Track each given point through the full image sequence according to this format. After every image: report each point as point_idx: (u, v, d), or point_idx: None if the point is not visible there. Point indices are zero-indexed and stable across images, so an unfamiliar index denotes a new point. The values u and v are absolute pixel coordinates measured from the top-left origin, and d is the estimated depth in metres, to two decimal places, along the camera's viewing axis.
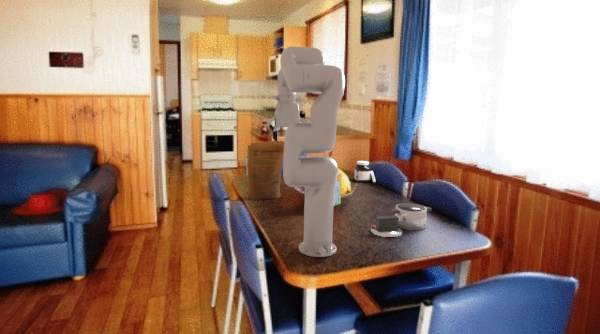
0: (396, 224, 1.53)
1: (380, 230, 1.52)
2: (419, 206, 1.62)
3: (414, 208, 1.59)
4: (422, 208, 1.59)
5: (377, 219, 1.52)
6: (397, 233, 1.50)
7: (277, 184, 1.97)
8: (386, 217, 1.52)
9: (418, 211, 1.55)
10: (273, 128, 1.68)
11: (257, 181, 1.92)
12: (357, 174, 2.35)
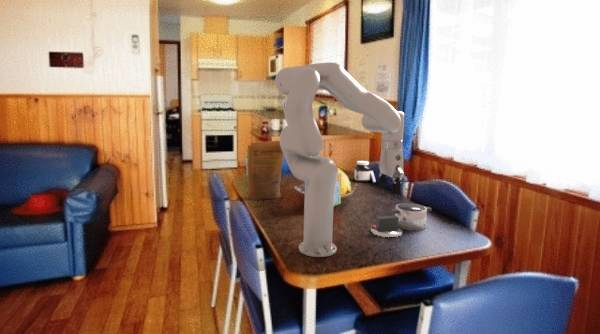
0: (396, 224, 1.53)
1: (380, 230, 1.52)
2: (419, 206, 1.62)
3: (414, 208, 1.59)
4: (422, 208, 1.59)
5: (377, 219, 1.52)
6: (397, 233, 1.50)
7: (277, 184, 1.97)
8: (386, 217, 1.52)
9: (418, 211, 1.55)
10: None
11: (257, 181, 1.92)
12: (357, 174, 2.35)
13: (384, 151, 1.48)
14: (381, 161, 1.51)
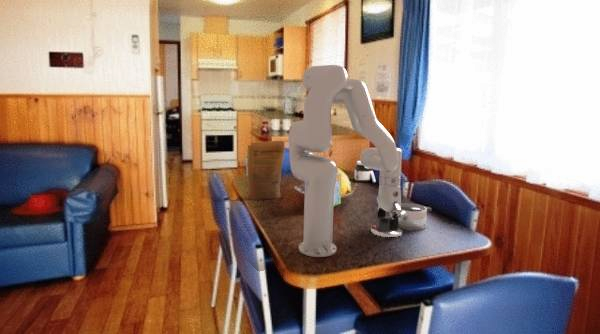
0: None
1: (380, 230, 1.52)
2: (419, 206, 1.62)
3: (414, 208, 1.59)
4: (422, 208, 1.59)
5: (377, 219, 1.52)
6: (397, 233, 1.50)
7: (277, 184, 1.97)
8: (386, 217, 1.52)
9: (418, 211, 1.55)
10: None
11: (257, 181, 1.92)
12: (357, 174, 2.35)
13: (382, 187, 1.51)
14: (379, 196, 1.53)
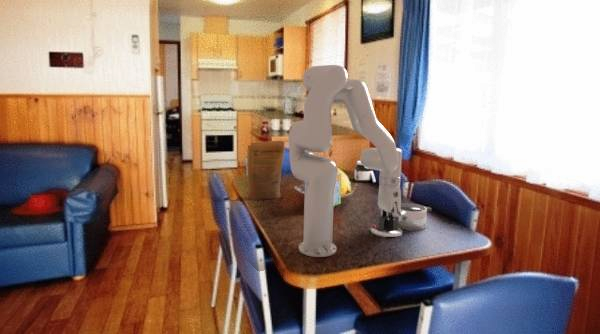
0: (396, 223, 1.53)
1: (380, 229, 1.52)
2: (419, 206, 1.62)
3: (414, 208, 1.59)
4: (422, 208, 1.59)
5: (377, 218, 1.52)
6: (397, 232, 1.50)
7: (277, 184, 1.97)
8: (386, 216, 1.52)
9: (418, 211, 1.55)
10: (393, 218, 1.50)
11: (257, 181, 1.92)
12: (357, 174, 2.35)
13: (382, 187, 1.51)
14: (379, 196, 1.53)
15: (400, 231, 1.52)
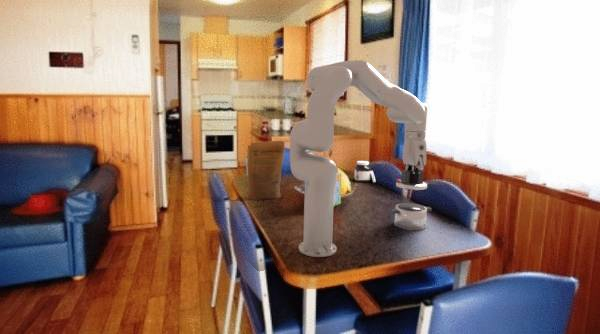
0: (421, 177, 1.58)
1: (406, 183, 1.56)
2: (419, 206, 1.62)
3: (414, 208, 1.59)
4: (422, 208, 1.59)
5: (403, 172, 1.57)
6: (422, 185, 1.55)
7: (277, 184, 1.97)
8: (411, 170, 1.57)
9: (418, 211, 1.55)
10: (418, 171, 1.55)
11: (257, 181, 1.92)
12: (357, 174, 2.35)
13: (407, 142, 1.55)
14: (404, 151, 1.58)
15: (425, 184, 1.56)
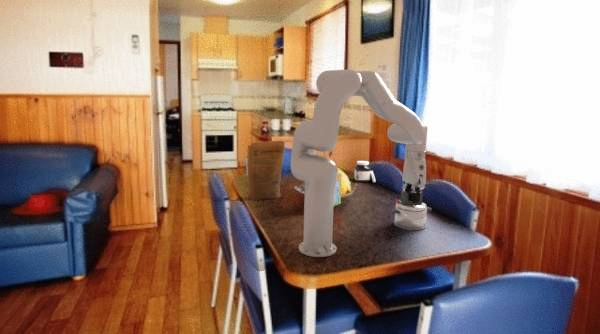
0: (420, 198, 1.60)
1: (405, 204, 1.58)
2: None
3: None
4: None
5: (402, 193, 1.59)
6: (422, 207, 1.57)
7: (277, 184, 1.97)
8: (411, 192, 1.59)
9: (418, 211, 1.55)
10: None
11: (257, 181, 1.92)
12: (357, 174, 2.35)
13: (407, 161, 1.57)
14: (404, 170, 1.60)
15: (424, 206, 1.58)
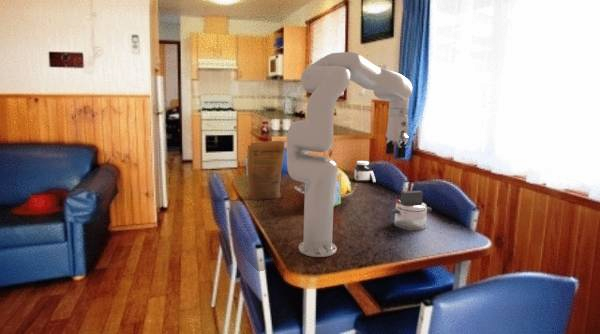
0: (420, 198, 1.60)
1: (405, 204, 1.58)
2: None
3: None
4: None
5: (402, 193, 1.59)
6: (422, 207, 1.57)
7: (277, 184, 1.97)
8: (411, 192, 1.59)
9: (418, 211, 1.55)
10: None
11: (257, 181, 1.92)
12: (357, 174, 2.35)
13: (391, 119, 1.61)
14: (388, 128, 1.64)
15: (424, 206, 1.58)
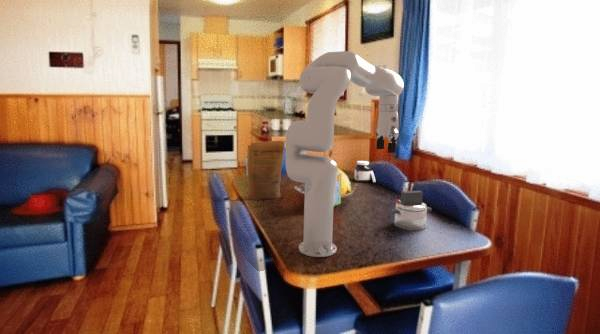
0: (420, 198, 1.60)
1: (405, 204, 1.58)
2: None
3: None
4: None
5: (402, 193, 1.59)
6: (422, 207, 1.57)
7: (277, 184, 1.97)
8: (411, 192, 1.59)
9: (418, 211, 1.55)
10: None
11: (257, 181, 1.92)
12: (357, 174, 2.35)
13: (381, 114, 1.64)
14: (378, 124, 1.67)
15: (424, 206, 1.58)
